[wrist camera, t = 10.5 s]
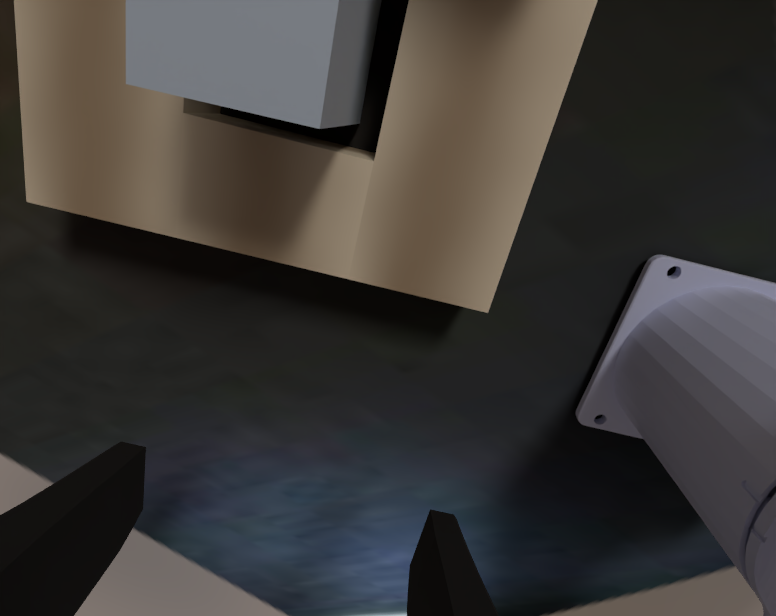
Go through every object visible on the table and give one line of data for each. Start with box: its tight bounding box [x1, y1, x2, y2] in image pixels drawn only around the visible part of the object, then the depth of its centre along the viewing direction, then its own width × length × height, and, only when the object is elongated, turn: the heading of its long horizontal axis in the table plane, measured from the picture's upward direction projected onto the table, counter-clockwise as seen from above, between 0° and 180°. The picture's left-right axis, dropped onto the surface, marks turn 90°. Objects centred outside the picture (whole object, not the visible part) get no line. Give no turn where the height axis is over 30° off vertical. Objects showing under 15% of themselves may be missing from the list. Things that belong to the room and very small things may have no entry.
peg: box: [126, 0, 382, 129], centre depth 12 cm, size 4×4×8 cm
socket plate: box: [14, 0, 597, 313], centre depth 15 cm, size 16×14×3 cm
